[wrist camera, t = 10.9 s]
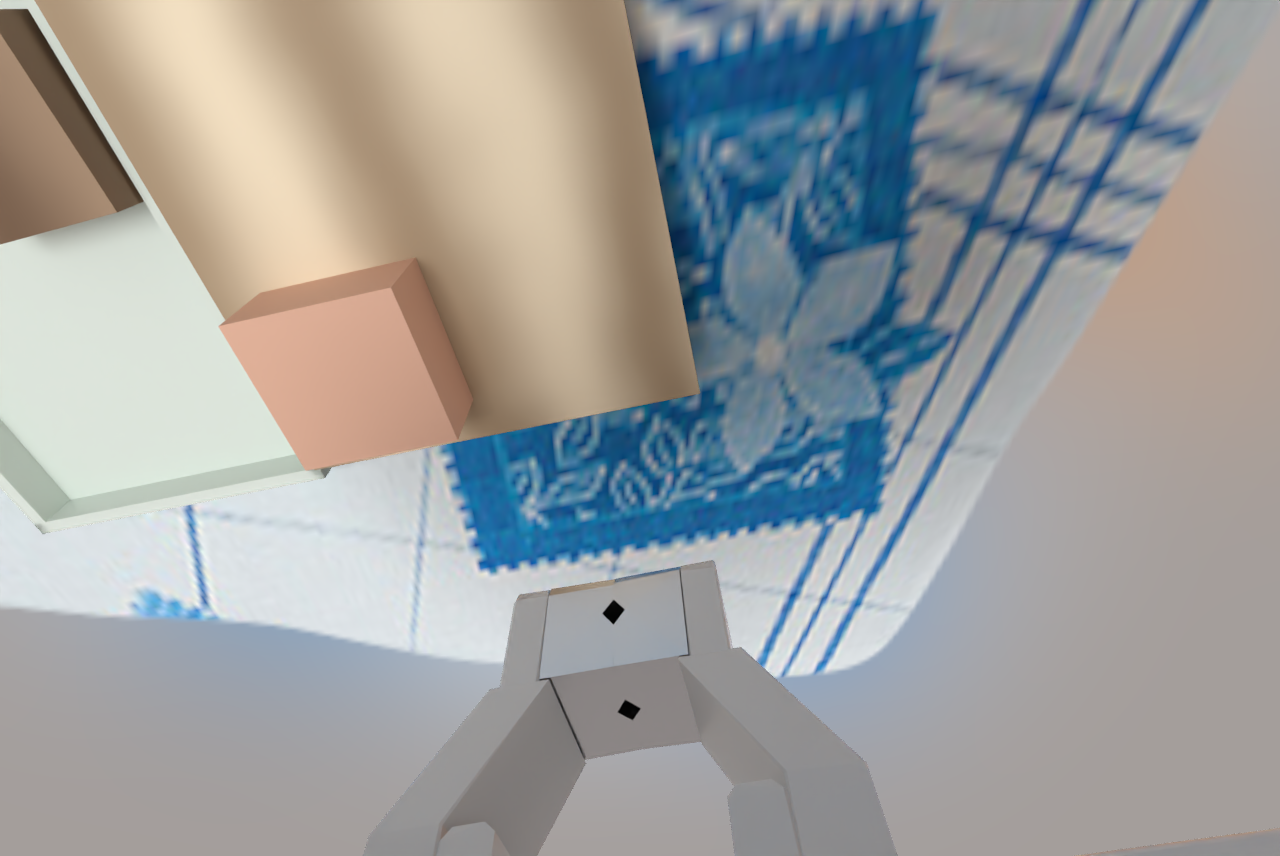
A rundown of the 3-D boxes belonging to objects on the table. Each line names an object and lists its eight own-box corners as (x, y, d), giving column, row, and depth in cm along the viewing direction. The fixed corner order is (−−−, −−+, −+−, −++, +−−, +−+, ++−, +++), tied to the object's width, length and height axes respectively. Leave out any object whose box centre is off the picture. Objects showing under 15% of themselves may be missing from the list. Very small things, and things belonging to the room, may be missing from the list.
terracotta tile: (415, 257, 20) (390, 287, 18) (473, 399, 22) (457, 440, 20) (260, 292, 20) (218, 326, 18) (334, 428, 23) (305, 470, 21)
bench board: (582, -212, 17) (575, -250, 14) (692, 354, 25) (700, 393, 23) (78, -65, 18) (-11, -76, 15) (344, 425, 26) (314, 470, 24)
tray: (36, -106, 17) (-27, -117, 16) (343, 448, 27) (325, 478, 25) (-347, 9, 19) (-444, 10, 17) (77, 502, 28) (42, 533, 26)
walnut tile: (57, 8, 18) (-16, 8, 16) (167, 191, 21) (117, 212, 19) (-99, 57, 19) (-189, 64, 17) (28, 229, 21) (-37, 254, 19)
